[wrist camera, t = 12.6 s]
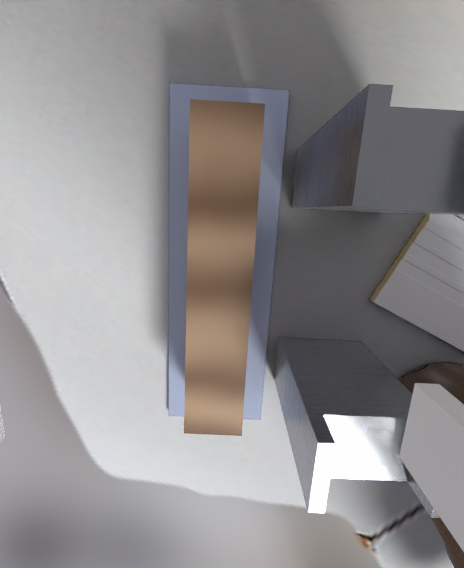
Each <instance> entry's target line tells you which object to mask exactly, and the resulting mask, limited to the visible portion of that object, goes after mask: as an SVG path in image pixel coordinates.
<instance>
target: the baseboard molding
mask: <svg viewBox="0 0 464 568" xmlns="http://www.w3.org/2000/svg"><path fill="white" fill-rule="evenodd" d="M370 300H371V301H372V302H373V303H375V304H377V305H379V306H381V307H383V308H384V309H386V310H388V311H390V312H392V313H394V314H395V315H397V316H399V317H401V318H403V319H405V320H407V321H408V322H410V323H412V324H414V325H416V326H418V327H419V328H421V329H423V330H425V331H427V332H429V333H430V334H432V335H434V336H436V337H438V338H440V339H442V340H443V341H445V342H447V343H449V344H451V345H453V346H454V347H456V348H458V349H460V350H462V351H464V221H463V220H462V219H460V218H458V217H457V216H455V215H453V214H426V215H425V217H424V218H423V220H422V221H421V223H420V224H419V226H418V227H417V229H416V230H415V232H414V233H413V235H412V236H411V238H410V239H409V241H408V242H407V244H406V245H405V247H404V248H403V250H402V251H401V253H400V254H399V256H398V257H397V259H396V260H395V262H394V263H393V265H392V266H391V268H390V269H389V271H388V272H387V274H386V275H385V277H384V278H383V280H382V281H381V283H380V284H379V285H378V287H377V288H376V290H375V291H374V293H373V294H372V296H371V297H370Z"/></svg>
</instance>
